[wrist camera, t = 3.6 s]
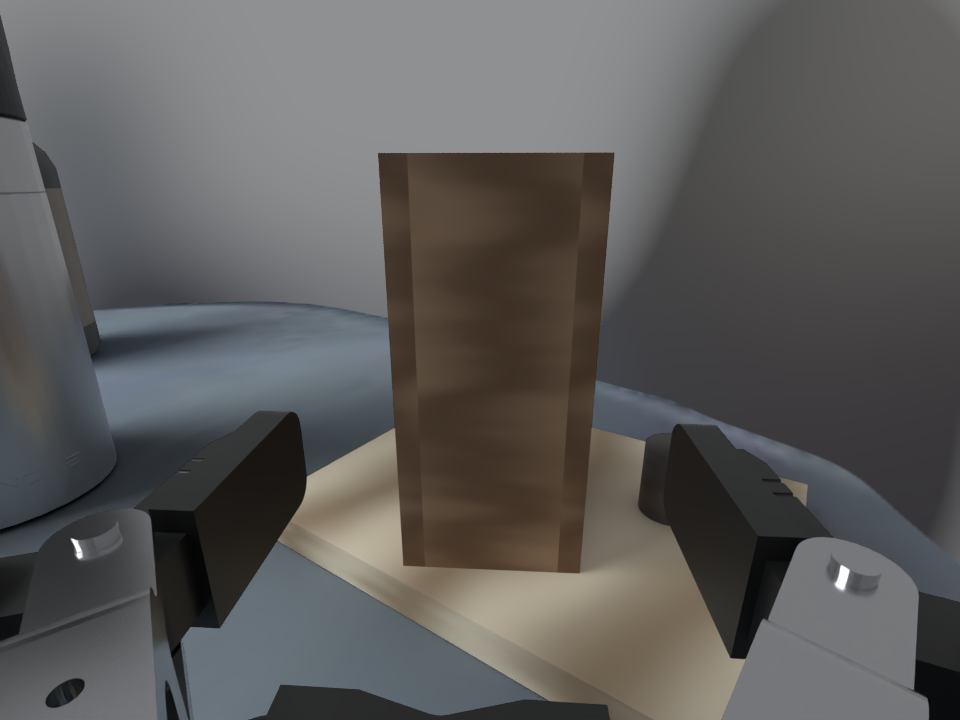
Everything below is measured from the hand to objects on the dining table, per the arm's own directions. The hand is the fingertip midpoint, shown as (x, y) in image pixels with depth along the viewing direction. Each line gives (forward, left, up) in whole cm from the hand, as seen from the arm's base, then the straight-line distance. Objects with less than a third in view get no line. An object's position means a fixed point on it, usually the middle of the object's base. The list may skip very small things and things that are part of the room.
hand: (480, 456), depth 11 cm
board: (-3, +10, -9) cm, 14 cm away
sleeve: (-4, +7, -8) cm, 11 cm away
